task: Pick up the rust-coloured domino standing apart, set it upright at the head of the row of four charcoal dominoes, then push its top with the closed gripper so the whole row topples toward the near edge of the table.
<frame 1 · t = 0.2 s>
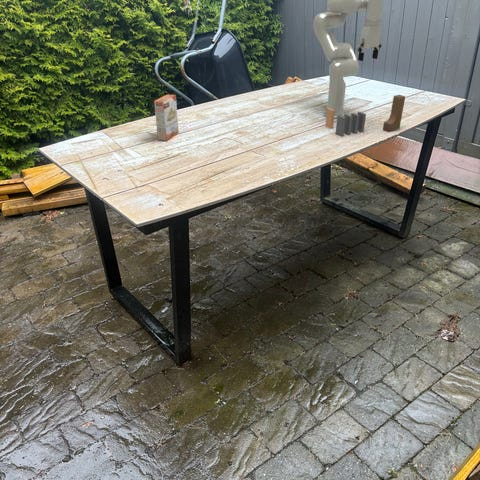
hand: (367, 59, 236), 36 cm above the table, tool pointing down, fingers open, 9 cm apart
domino 3: (352, 132, 249), on the table
domino 4: (346, 133, 247), on the table
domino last: (339, 134, 246), on the table
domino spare: (329, 127, 257), on the table
domino 2: (359, 130, 251), on the table
cracker box: (168, 137, 246), on the table
wooden block: (391, 129, 252), on the table
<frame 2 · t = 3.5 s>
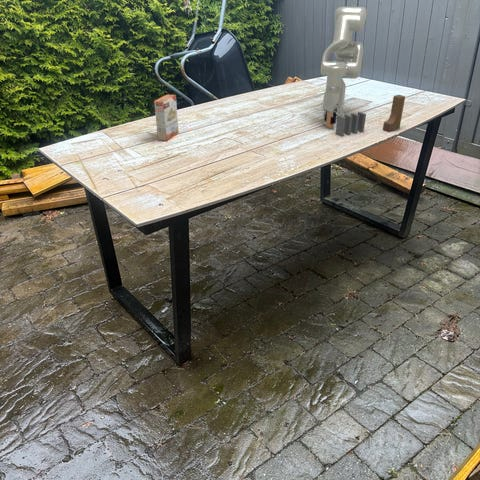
hand: (329, 121, 255), 3 cm above the table, tool pointing down, fingers closed on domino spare, 4 cm apart
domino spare: (329, 127, 257), on the table, touching gripper
everything else where it was.
when the fingers open (3 cm above the table, at t = 8.9 s): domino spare stays where it is, on the table.
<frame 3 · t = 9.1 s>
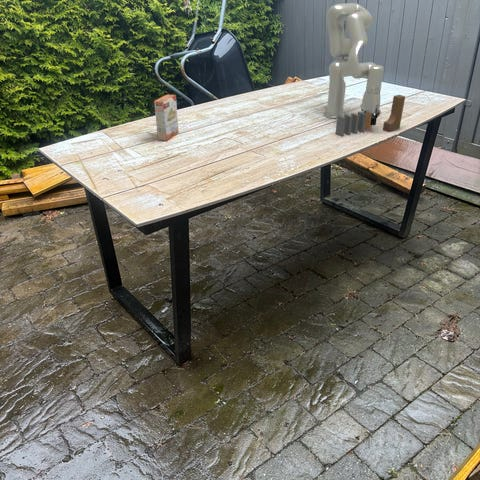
hand: (368, 122, 251), 4 cm above the table, tool pointing down, fingers open, 7 cm apart
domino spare: (367, 129, 253), on the table
everything else where it was.
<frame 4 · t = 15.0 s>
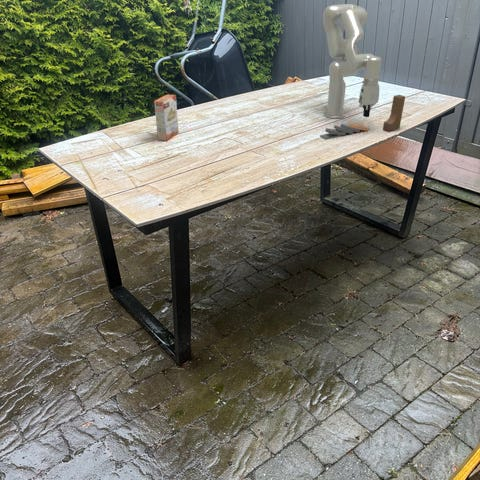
hand: (366, 116, 248), 8 cm above the table, tool pointing down, fingers closed
domino 3: (350, 131, 248), point 1 cm above the table, tilted 70°, touching domino 2, domino 4
domino 4: (342, 132, 246), point 1 cm above the table, tilted 76°, touching domino 3, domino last
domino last: (338, 135, 245), on the table, tilted 90°, touching domino 4
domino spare: (365, 128, 252), point 1 cm above the table, tilted 72°, touching domino 2
domino 2: (356, 130, 250), point 1 cm above the table, tilted 70°, touching domino 3, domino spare
everything else where it was.
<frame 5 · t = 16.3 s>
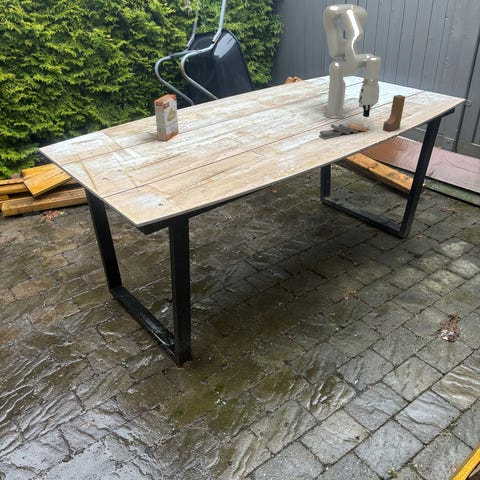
hand: (365, 116, 248), 8 cm above the table, tool pointing down, fingers closed
domino 3: (347, 131, 248), point 1 cm above the table, tilted 67°, touching domino 2, domino 4
domino 4: (338, 131, 245), point 1 cm above the table, tilted 90°, touching domino 3, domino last
domino 2: (355, 130, 249), point 1 cm above the table, tilted 68°, touching domino 3, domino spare
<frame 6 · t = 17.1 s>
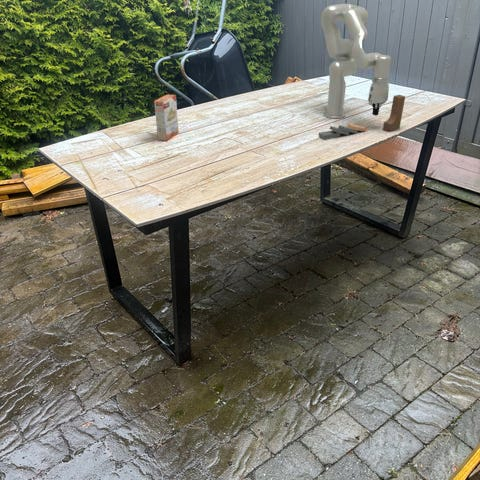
hand: (375, 114, 250), 8 cm above the table, tool pointing down, fingers closed
domino 3: (346, 132, 247), point 1 cm above the table, tilted 69°, touching domino 2, domino 4
domino 4: (337, 132, 244), point 1 cm above the table, tilted 90°, touching domino 3, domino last
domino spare: (363, 128, 251), point 1 cm above the table, tilted 74°
domino 2: (354, 130, 249), point 1 cm above the table, tilted 71°, touching domino 3
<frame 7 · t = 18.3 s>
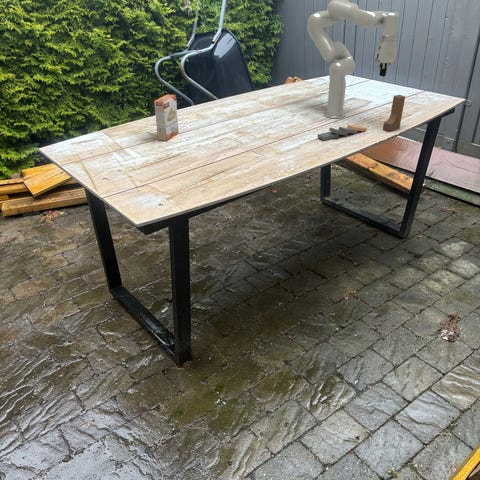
hand: (382, 75, 244), 27 cm above the table, tool pointing down, fingers closed
domino 3: (344, 133, 246), point 1 cm above the table, tilted 69°
domino 4: (335, 133, 243), point 1 cm above the table, tilted 90°
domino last: (336, 136, 245), on the table, tilted 90°
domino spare: (363, 128, 251), point 1 cm above the table, tilted 76°, touching domino 2
domino 2: (353, 130, 248), point 1 cm above the table, tilted 73°, touching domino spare
everything else where it was.
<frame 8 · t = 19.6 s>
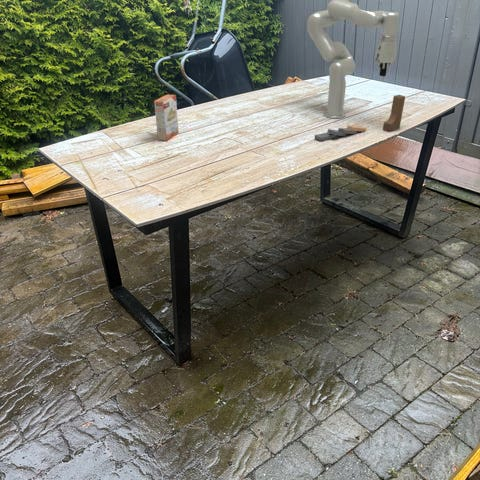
hand: (382, 75, 244), 27 cm above the table, tool pointing down, fingers closed
domino 3: (342, 133, 245), point 1 cm above the table, tilted 72°, touching domino 2, domino 4
domino 4: (332, 134, 242), point 1 cm above the table, tilted 90°, touching domino 3, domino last
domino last: (336, 136, 245), on the table, tilted 90°, touching domino 4
domino 2: (353, 131, 248), point 1 cm above the table, tilted 76°, touching domino 3, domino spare
everything else where it was.
at the end: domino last tilted 90°; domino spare tilted 77°; the gripper is holding nothing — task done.
